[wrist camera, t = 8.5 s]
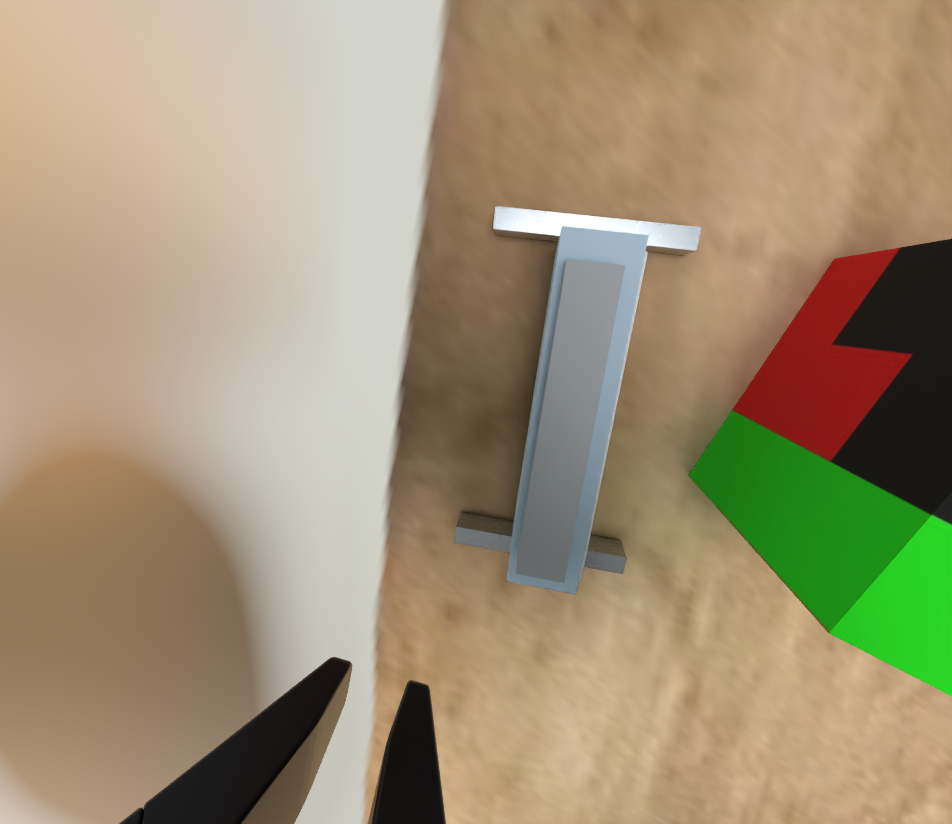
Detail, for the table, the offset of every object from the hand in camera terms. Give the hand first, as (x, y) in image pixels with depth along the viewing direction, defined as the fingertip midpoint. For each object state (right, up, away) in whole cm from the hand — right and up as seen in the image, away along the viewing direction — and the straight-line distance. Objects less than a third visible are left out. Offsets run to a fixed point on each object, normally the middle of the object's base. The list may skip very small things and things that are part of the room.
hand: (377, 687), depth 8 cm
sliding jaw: (+6, +6, +11) cm, 14 cm away
